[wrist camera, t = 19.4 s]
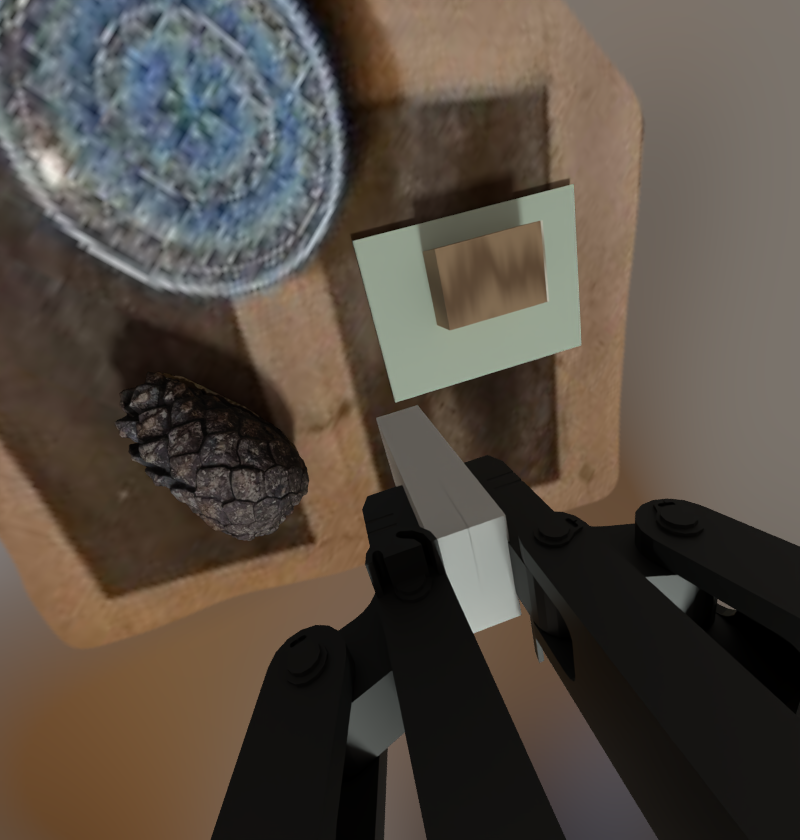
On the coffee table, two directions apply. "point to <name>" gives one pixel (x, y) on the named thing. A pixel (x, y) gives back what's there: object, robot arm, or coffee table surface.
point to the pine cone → (213, 455)
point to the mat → (483, 341)
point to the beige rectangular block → (488, 275)
